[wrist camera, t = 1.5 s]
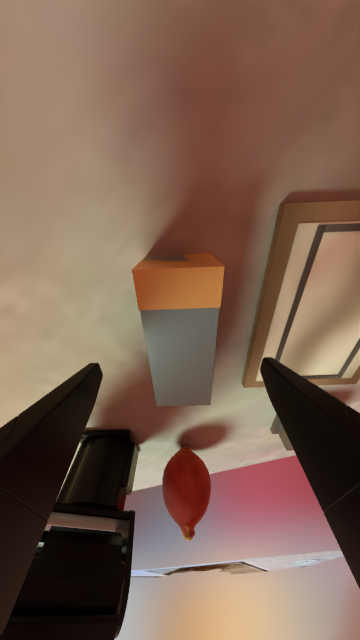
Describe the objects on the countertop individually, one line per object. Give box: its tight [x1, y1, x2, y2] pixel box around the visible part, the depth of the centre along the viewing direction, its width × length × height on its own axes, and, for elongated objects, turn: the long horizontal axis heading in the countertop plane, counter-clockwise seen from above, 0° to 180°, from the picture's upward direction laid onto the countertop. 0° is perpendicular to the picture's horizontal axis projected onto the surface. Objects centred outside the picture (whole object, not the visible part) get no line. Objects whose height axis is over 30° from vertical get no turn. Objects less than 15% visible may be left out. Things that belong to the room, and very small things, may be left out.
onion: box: [163, 447, 211, 541], centre depth 20 cm, size 6×6×8 cm
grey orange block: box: [132, 253, 225, 407], centre depth 12 cm, size 4×10×4 cm, turn 2°
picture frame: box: [242, 200, 360, 388], centre depth 13 cm, size 11×15×1 cm
